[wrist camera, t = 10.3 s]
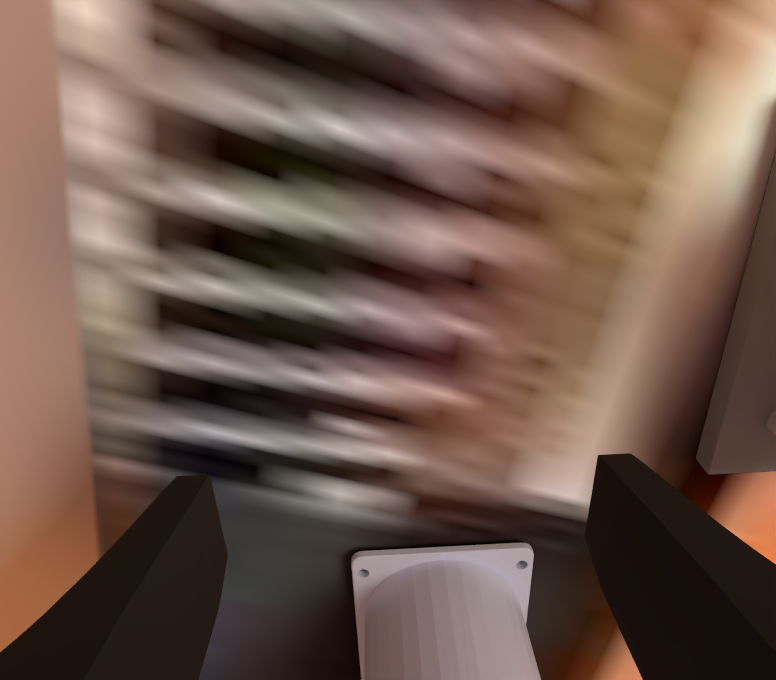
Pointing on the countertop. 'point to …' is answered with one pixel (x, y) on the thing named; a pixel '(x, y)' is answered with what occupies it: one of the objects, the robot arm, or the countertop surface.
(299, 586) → the countertop surface
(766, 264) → the peg stand
